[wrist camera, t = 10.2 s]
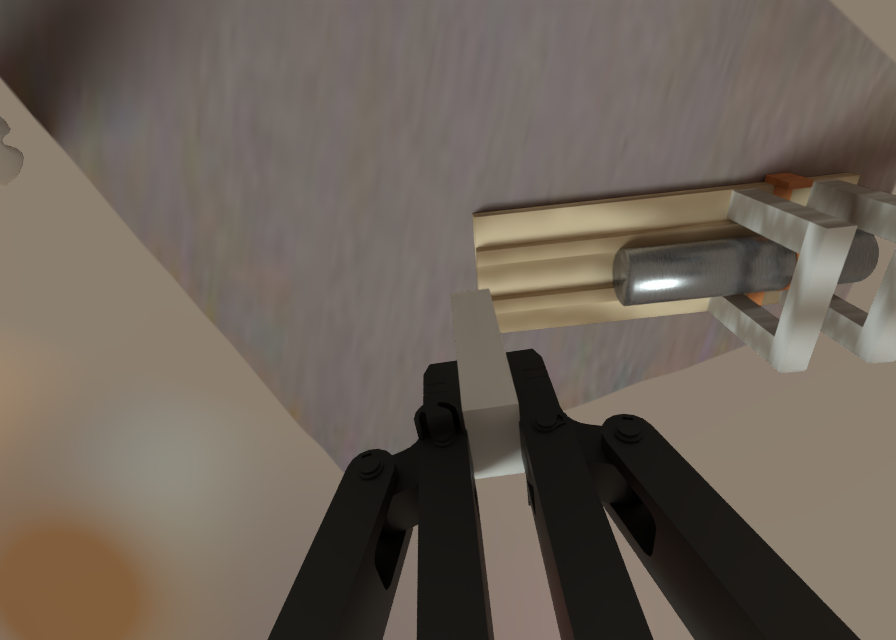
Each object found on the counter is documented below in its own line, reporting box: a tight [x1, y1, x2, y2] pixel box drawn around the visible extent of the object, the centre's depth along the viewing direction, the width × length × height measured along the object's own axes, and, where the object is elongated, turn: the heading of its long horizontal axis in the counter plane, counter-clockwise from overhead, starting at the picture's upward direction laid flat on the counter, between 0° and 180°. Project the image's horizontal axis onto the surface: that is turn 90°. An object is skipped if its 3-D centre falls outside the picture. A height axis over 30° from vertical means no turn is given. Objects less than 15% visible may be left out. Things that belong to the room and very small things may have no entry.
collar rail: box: [472, 172, 896, 373], centre depth 38 cm, size 13×34×12 cm, turn 96°
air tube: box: [612, 229, 879, 306], centre depth 40 cm, size 20×5×5 cm, turn 95°
